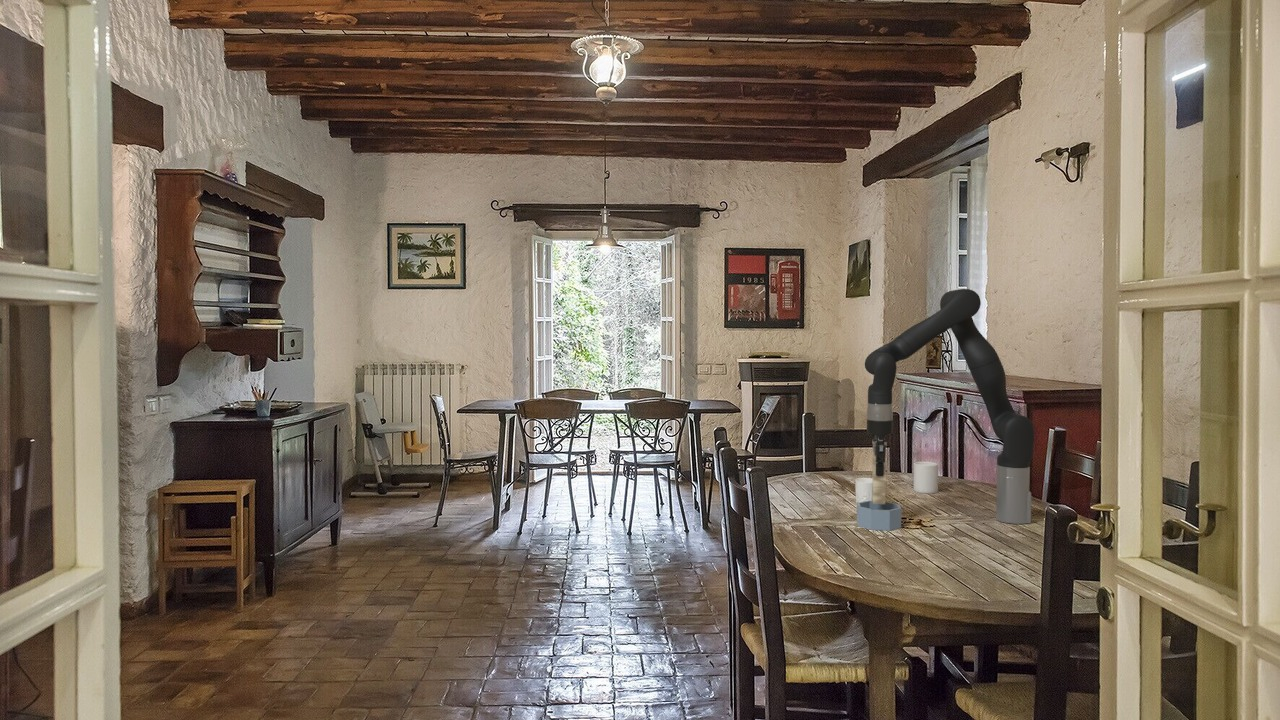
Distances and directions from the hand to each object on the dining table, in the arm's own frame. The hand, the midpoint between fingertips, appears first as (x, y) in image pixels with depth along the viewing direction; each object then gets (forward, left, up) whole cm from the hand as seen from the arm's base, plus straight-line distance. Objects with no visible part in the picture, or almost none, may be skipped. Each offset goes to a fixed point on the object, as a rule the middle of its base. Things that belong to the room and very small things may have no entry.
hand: (879, 474), depth 242 cm
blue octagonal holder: (0, 0, -16) cm, 16 cm away
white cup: (+2, -19, -16) cm, 25 cm away
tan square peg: (0, 0, -9) cm, 9 cm away
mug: (-21, -54, -16) cm, 60 cm away
